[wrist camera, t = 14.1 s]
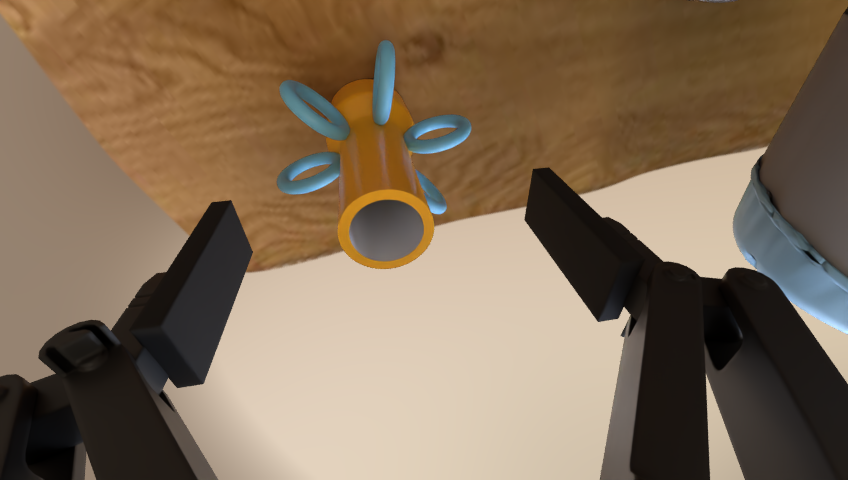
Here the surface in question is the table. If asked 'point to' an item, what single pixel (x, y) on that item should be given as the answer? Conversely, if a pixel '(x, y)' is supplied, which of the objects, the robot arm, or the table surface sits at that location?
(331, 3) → the table surface
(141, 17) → the table surface
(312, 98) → the cylinder
